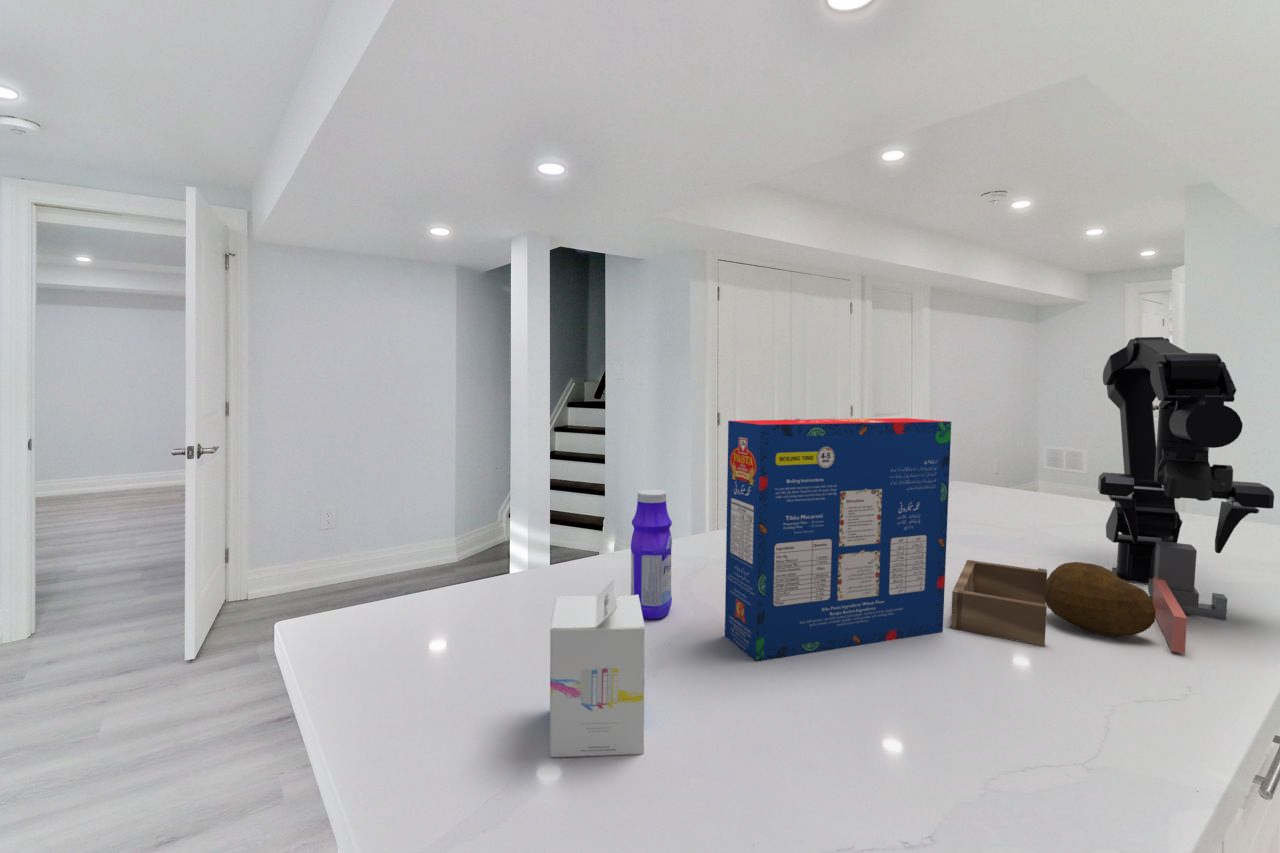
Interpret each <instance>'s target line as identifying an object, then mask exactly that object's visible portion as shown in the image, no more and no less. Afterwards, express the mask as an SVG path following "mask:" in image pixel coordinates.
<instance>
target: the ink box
mask: <svg viewBox="0 0 1280 853" xmlns="http://www.w3.org/2000/svg"><path fill="white" fill-rule="evenodd" d="M616 586H617V585H616V580H615V579H613V580H611V581H610V582H609V583H608V584H606V586H605V587H604V588H603V589H602V590H601V591H600V592H599V593H598V594H597V595H586V596H585V595H581V596H580V595H579V596H572V595H571V596H568V595H567V596H560V595H558V596H556V597H555V600H554V606H553V611H552V616H551V621H550V626H549V635H550V637H549V639H550V641H549V642H550V646H549V647H550V650H549V655H550V656H549V657H550V658H549V659H550V661H549V687H550V688H549V756H550V758H570V757H600V756H625V755H628V756H629V755H642V754H644V752H645V736H644V735H645V634H646V633H645V632H646V631H645V630H646V627H645V620H644V618H643V615H642V609H641V604H640V599H639V595H631V594H630V595H617V590H616Z"/></svg>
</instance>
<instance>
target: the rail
mask: <svg viewBox="0 0 1280 853" xmlns="http://www.w3.org/2000/svg"><path fill="white" fill-rule="evenodd" d="M1037 570H1044V571H1047V572H1048V570H1047V569H1044V568H1039V567H1038V568H1037ZM1149 596H1150V595H1149ZM1150 598H1151V596H1150ZM1151 600H1152V598H1151ZM1180 607H1181V609H1182V610H1183V612H1184V614H1185V615H1190V616H1191V615H1193V616H1198V617H1203V618H1211V619H1218V620H1224V621H1226V620H1227V611H1228V610H1227V609H1228V598H1227V597H1226V595H1225V594H1223V593H1216V592H1212V593H1211V603H1210V604H1207V603H1200V602H1199V605H1198V608H1197V607H1190V606H1184V605H1180Z"/></svg>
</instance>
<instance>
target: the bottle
mask: <svg viewBox="0 0 1280 853" xmlns="http://www.w3.org/2000/svg"><path fill="white" fill-rule="evenodd" d="M636 501H637V504H636V509H635V510H636V511H635V514H634V516H633V518H632V520H631V525H632V527H633V532H632V536H631V540H630V550H631V555H630V558H631V559H630V560H631V561H630V562H631V563H630V564H631V565H630V566H631V567H630V568H631V569H630V572H631V574H630V579H631V580H630V595H639V599H640V604H641V609H642V615H643V619H648V620H649V619H650V620H657V619H662V618H664V617H665V616H666V615H668V613H669V612H670V610H671V606H672V601H673V597H672V547H673V546H672V545H673V539H672V532H671V530H670V528H671V527H672V524H673V521H672V519H671V518H670V515H669V513H668V507H667V491H665V490H661V489H651V488H650V489H642V490H638V491H637V500H636Z"/></svg>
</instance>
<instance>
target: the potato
mask: <svg viewBox="0 0 1280 853" xmlns="http://www.w3.org/2000/svg"><path fill="white" fill-rule="evenodd" d="M1044 596H1045V601H1046V604H1047V608H1048V609H1049V610H1050V611H1051V612H1052V613H1053V614H1054V615H1055V616H1057V617H1059V618H1060V619H1062V620H1063V621H1064V622H1067V623H1068V624H1070V625H1072V626H1074V627H1077V628H1079V629H1082V630H1084V631H1088V632H1090V633H1094V634H1099V635H1103V636H1106V635H1107V636H1108V637H1115V638H1118V637H1121V638H1122V637H1131V636H1134V635H1138V634H1141V633H1143V632H1145V631H1147V630H1148V629H1150V628H1151V626H1152V625H1153V624H1154V623H1155V621H1156V616H1155V614H1156V610H1155V607H1154V605H1153V603H1152V600H1151V598H1150V594H1149V593H1147V592H1146V590H1144V589H1142V588H1141V587H1139V586H1136V585H1134V584H1132V583H1130V582H1129V581H1127V580H1122V579H1120V578H1119V577H1118V576H1116V575H1115V574H1114V573H1113V571H1112V570H1110V569H1107V568H1105V567H1104V566H1102V565H1099V564H1094V563H1090V562H1089V563H1088V562H1079V561H1073V562H1064V563H1062V564H1059V566H1058V565H1057V567H1056V568H1055V569H1054V570H1052V571H1051V573H1050V574H1049V576H1047V580H1046V582H1045V588H1044Z"/></svg>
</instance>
